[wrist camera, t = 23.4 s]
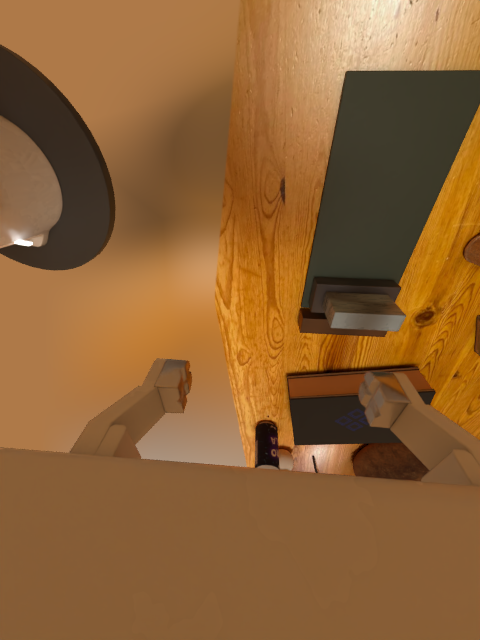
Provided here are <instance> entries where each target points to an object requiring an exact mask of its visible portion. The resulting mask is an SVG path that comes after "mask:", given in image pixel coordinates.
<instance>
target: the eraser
mask: <svg viewBox="0 0 480 640" xmlns="http://www.w3.org/2000/svg"><path fill="white" fill-rule="evenodd" d="M400 290H401V287H400V286H399V285H398V284H397V283H396V282H395V281H394V280H378V279H353V278H328V277H314V280H313V284H312V289H311V294H310V298H309V303H308V305H309V308H310V311H311V312H316V313H325V315H326V317H327V320H328V322H329V325H330V328H342V329H362V330H382V331H399V329H400V327H401V325H402V323H403V321H404V319H405V317H406V315H405V314H404V313H403V312H402V310H401V309H400V308H399V307H398V306H397V305H396V304H395V300H396V298H397V296H398V294H399V292H400Z"/></svg>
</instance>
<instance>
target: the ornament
mask: <svg viewBox="0 0 480 640" xmlns="http://www.w3.org/2000/svg"><path fill="white" fill-rule="evenodd" d="M293 465H294V460H293V457H292V455H291V453H290V452H289V451H287V450H285V449H279V467H280V470H287V471H291V470H292V468H293Z"/></svg>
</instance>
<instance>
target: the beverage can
mask: <svg viewBox="0 0 480 640" xmlns="http://www.w3.org/2000/svg"><path fill="white" fill-rule="evenodd" d="M255 468H262V469H274V470H280V467H279V450H278V433H277V427H276V426H275V425H274V424H273V423H271V422H268V421H264V422H261V423H259V425H257V426H256V435H255Z"/></svg>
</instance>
